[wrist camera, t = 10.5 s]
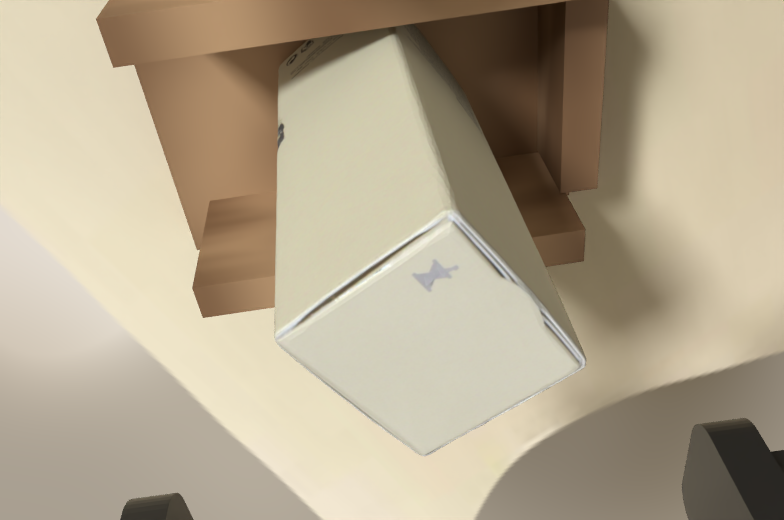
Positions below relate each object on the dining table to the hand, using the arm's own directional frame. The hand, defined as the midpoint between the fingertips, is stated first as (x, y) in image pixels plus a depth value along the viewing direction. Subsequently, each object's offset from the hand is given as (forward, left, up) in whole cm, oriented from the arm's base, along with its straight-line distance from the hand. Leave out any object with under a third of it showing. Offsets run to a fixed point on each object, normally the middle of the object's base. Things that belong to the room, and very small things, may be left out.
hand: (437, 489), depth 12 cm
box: (0, 0, -16) cm, 16 cm away
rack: (0, 0, -17) cm, 17 cm away
